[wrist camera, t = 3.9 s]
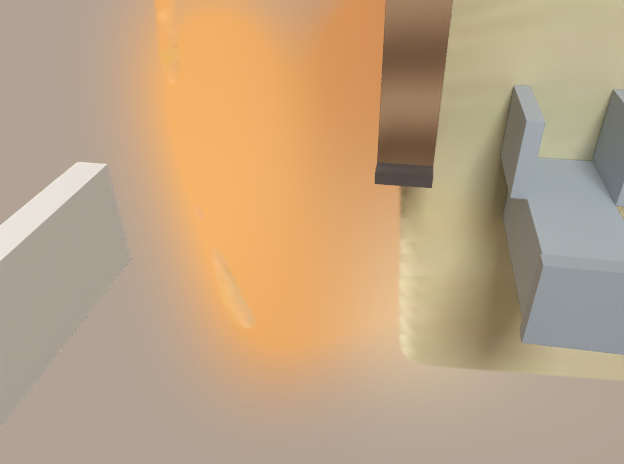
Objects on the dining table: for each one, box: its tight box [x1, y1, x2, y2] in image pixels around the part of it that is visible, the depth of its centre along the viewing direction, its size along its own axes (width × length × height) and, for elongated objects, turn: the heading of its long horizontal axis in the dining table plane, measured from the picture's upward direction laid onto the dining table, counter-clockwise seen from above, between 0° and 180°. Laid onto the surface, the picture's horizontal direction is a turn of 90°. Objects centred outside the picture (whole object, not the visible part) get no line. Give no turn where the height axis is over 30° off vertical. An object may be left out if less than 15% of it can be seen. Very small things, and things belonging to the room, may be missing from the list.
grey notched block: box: [500, 85, 624, 355], centre depth 32 cm, size 10×7×13 cm
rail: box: [375, 0, 453, 188], centre depth 31 cm, size 16×4×6 cm, turn 1°
